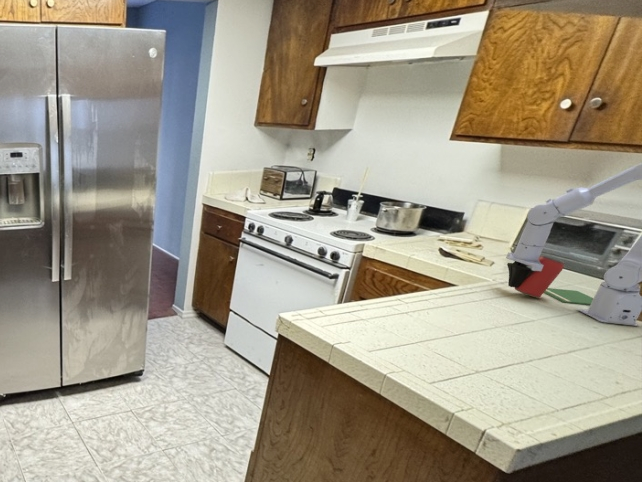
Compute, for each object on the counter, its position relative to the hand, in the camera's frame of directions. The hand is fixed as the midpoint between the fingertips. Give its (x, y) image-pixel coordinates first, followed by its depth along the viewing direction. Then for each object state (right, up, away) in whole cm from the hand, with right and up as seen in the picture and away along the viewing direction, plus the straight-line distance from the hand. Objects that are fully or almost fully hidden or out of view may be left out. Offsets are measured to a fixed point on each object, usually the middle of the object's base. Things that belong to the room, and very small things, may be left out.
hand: (513, 286), depth 147 cm
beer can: (+4, -2, 0) cm, 4 cm away
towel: (+18, -3, 0) cm, 18 cm away
